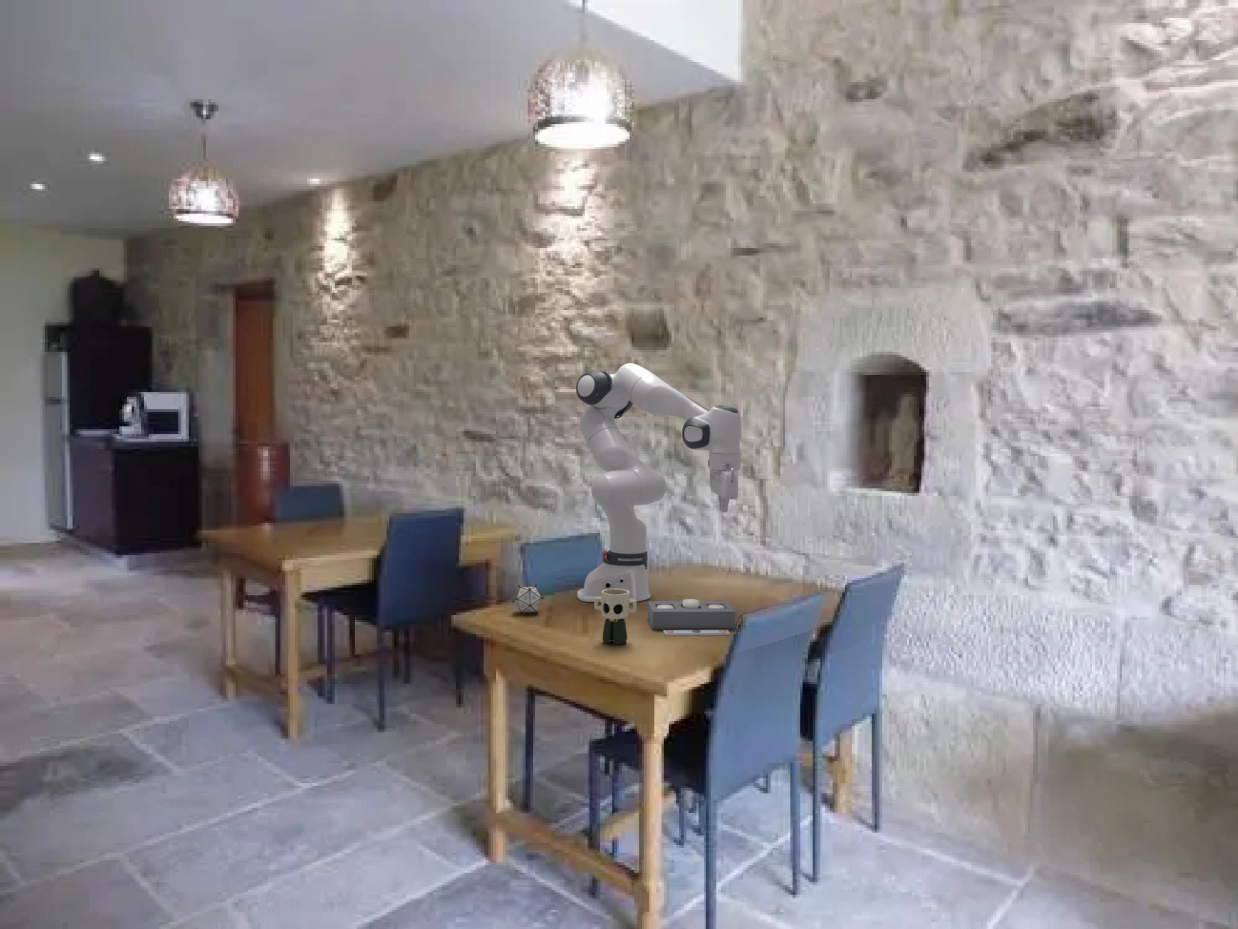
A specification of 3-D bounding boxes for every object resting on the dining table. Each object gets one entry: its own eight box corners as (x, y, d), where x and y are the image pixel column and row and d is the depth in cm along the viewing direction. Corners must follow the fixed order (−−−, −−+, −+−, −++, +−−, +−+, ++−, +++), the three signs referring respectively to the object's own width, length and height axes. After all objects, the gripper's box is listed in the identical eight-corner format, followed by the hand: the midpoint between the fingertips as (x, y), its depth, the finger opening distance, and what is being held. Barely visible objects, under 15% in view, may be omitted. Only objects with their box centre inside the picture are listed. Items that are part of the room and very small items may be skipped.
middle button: (683, 613, 240) (684, 602, 240) (681, 609, 244) (681, 599, 244) (700, 613, 240) (700, 602, 240) (697, 609, 245) (697, 598, 244)
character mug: (589, 644, 222) (590, 592, 221) (597, 637, 229) (598, 586, 227) (632, 648, 219) (633, 596, 218) (639, 640, 226) (640, 590, 225)
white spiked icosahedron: (520, 626, 252) (500, 597, 252) (542, 611, 257) (523, 582, 258) (533, 617, 245) (512, 587, 246) (555, 602, 250) (535, 572, 251)
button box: (652, 630, 236) (653, 611, 235) (647, 619, 247) (647, 601, 247) (735, 630, 238) (735, 611, 237) (725, 618, 249) (726, 601, 249)
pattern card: (664, 635, 231) (664, 632, 231) (663, 632, 234) (663, 629, 234) (729, 635, 232) (729, 632, 232) (727, 632, 235) (727, 629, 235)
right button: (709, 619, 241) (709, 608, 240) (706, 615, 245) (706, 604, 245) (725, 619, 241) (725, 608, 241) (722, 615, 245) (722, 604, 245)
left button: (657, 619, 239) (658, 608, 239) (655, 615, 244) (656, 604, 243) (674, 619, 240) (674, 608, 240) (671, 615, 244) (671, 604, 244)
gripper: (744, 466, 243) (742, 516, 244) (727, 460, 263) (726, 507, 264) (721, 466, 242) (720, 516, 243) (706, 460, 263) (705, 507, 264)
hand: (723, 511), depth 254 cm, fingers closed
